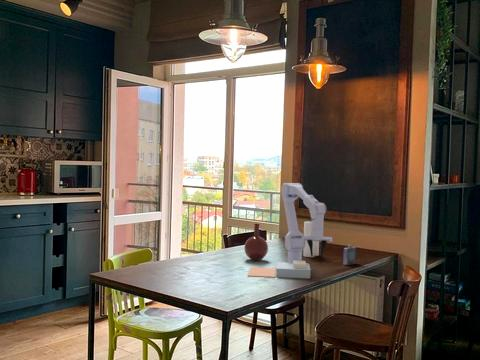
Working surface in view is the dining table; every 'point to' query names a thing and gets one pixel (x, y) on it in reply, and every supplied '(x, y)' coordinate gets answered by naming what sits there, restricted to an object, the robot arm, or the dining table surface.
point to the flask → (349, 255)
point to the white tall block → (307, 249)
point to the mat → (262, 272)
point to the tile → (299, 264)
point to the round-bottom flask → (256, 246)
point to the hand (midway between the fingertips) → (316, 255)
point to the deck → (292, 270)
